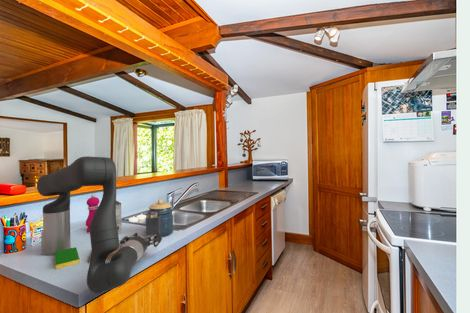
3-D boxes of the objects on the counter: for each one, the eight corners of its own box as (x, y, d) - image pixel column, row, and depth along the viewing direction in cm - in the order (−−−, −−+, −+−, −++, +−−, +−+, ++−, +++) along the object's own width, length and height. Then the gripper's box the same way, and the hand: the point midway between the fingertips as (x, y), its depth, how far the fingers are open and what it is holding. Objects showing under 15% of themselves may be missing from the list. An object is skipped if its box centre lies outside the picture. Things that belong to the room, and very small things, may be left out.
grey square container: (146, 244, 103) (145, 218, 103) (150, 238, 110) (150, 214, 110) (158, 243, 104) (158, 217, 104) (162, 238, 110) (162, 213, 110)
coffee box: (104, 231, 122) (103, 201, 122) (117, 229, 126) (116, 200, 126) (108, 236, 115) (107, 204, 115) (122, 233, 119) (121, 202, 119)
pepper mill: (83, 231, 123) (82, 194, 123) (97, 227, 129) (96, 192, 129) (89, 233, 119) (88, 195, 119) (103, 230, 125) (103, 193, 125)
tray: (89, 262, 86) (89, 257, 86) (94, 250, 98) (94, 246, 98) (125, 256, 91) (125, 251, 91) (126, 245, 103) (126, 241, 103)
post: (151, 242, 105) (150, 213, 105) (152, 240, 107) (152, 211, 107) (156, 242, 105) (155, 213, 105) (157, 240, 108) (157, 211, 107)
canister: (157, 239, 109) (156, 203, 109) (142, 234, 117) (141, 200, 117) (178, 232, 119) (178, 198, 119) (163, 227, 127) (163, 196, 127)
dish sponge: (55, 270, 82) (55, 263, 82) (55, 257, 92) (54, 251, 92) (79, 264, 86) (79, 257, 86) (76, 252, 97) (76, 246, 97)
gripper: (152, 239, 80) (163, 225, 96) (111, 241, 79) (129, 226, 95) (153, 260, 80) (164, 242, 96) (111, 262, 79) (129, 244, 95)
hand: (147, 234), depth 96 cm, fingers open, 8 cm apart
